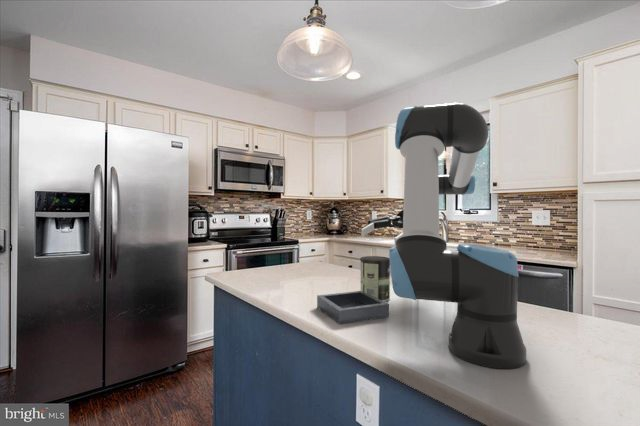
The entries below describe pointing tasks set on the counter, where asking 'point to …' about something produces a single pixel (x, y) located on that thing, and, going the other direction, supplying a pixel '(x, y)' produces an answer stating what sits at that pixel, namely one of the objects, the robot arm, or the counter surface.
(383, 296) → the coffee can
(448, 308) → the counter surface
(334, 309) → the tray
